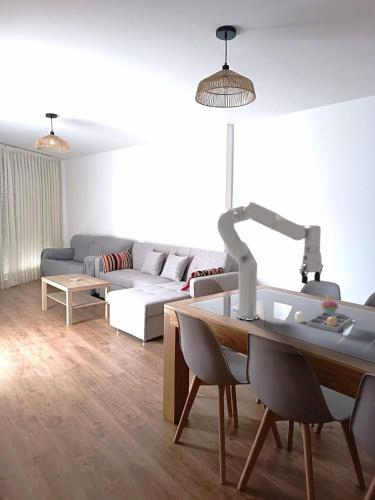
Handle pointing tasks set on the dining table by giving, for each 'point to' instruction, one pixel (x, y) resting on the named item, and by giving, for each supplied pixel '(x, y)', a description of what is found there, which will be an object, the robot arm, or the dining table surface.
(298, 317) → the cream egg
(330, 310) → the cupcake
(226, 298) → the dining table surface
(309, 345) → the dining table surface
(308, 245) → the robot arm
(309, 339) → the dining table surface
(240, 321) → the dining table surface
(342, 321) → the egg tray
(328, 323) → the brown egg
